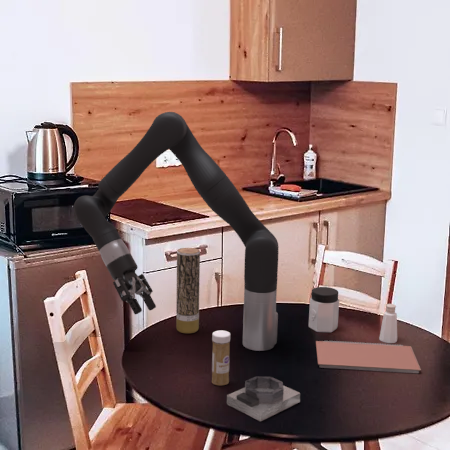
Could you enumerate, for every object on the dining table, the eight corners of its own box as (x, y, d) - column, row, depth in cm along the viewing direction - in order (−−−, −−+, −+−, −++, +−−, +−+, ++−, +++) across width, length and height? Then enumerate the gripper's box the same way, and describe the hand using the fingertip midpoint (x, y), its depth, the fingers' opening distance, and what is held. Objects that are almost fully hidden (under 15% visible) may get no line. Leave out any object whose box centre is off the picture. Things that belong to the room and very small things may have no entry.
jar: (303, 324, 220) (305, 288, 217) (325, 320, 224) (327, 285, 221) (320, 334, 212) (322, 297, 209) (342, 330, 216) (344, 293, 213)
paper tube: (200, 326, 216) (201, 248, 211) (197, 335, 210) (198, 254, 204) (178, 325, 217) (178, 247, 211) (174, 333, 210) (175, 253, 205)
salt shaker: (399, 343, 207) (402, 308, 204) (380, 343, 207) (383, 307, 204) (395, 336, 212) (398, 302, 210) (377, 336, 212) (379, 301, 210)
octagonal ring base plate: (266, 386, 178) (266, 369, 177) (299, 402, 170) (300, 383, 169) (226, 404, 168) (227, 385, 167) (260, 421, 161) (261, 402, 159)
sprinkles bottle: (223, 387, 177) (224, 337, 173) (208, 383, 179) (208, 334, 176) (232, 381, 180) (233, 331, 177) (217, 376, 183) (218, 328, 179)
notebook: (409, 350, 204) (410, 343, 203) (420, 375, 187) (421, 368, 187) (315, 345, 206) (315, 338, 205) (317, 369, 189) (318, 362, 189)
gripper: (115, 253, 186) (144, 307, 183) (140, 251, 199) (167, 301, 196) (94, 268, 188) (123, 321, 185) (120, 264, 201) (147, 314, 198)
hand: (146, 310), depth 191 cm, fingers open, 8 cm apart
